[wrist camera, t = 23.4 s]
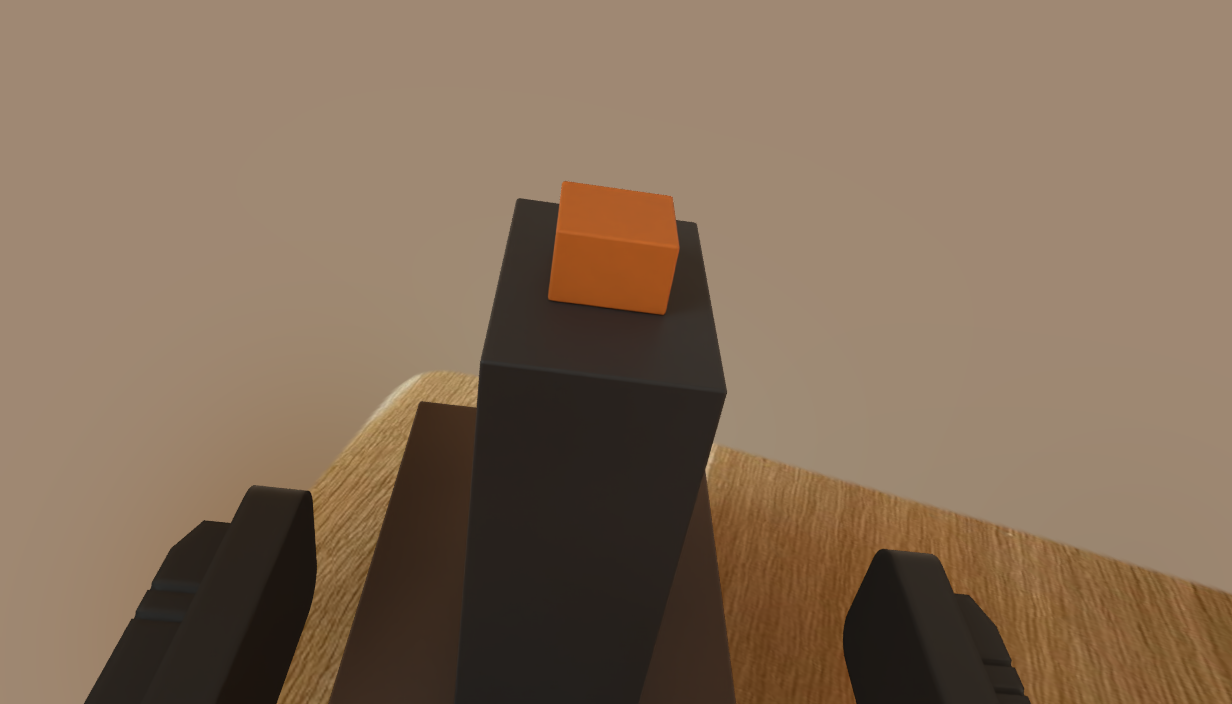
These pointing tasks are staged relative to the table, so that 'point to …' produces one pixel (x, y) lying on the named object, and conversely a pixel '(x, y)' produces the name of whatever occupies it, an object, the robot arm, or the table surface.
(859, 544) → the table surface
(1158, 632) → the table surface
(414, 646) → the shoe shelf
